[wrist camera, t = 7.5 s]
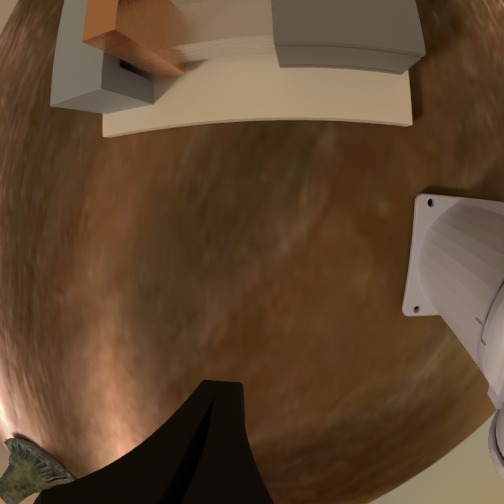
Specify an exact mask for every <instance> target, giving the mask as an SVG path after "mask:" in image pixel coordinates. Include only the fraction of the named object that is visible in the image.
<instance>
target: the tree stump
mask: <svg viewBox="0 0 504 504" xmlns="http://www.w3.org/2000/svg"><path fill="white" fill-rule="evenodd" d="M5 440H6V441H5V442H4V443H5V444H6V445H7V448H8V450H9V452H10V453H11V454H10V457H9V466H8V468H7V470H6V471H5V473H4V474H3V476H2V477H1V478H0V497H1V499H2V500H3V501H4V502H5V503H6V504H19V503H20V502H21V501H22V500H24V499H25V498H26V497H28V496H29V495H31V494H33V493H35V492H36V493H37V492H39V493H41V491H42V490H44V489H49V488H52V487H56V486H59V485H62V484H66V483H69V482H72V481H75V480H76V478H75V477H74V476H73V475H72V474H71V473H70V472H69V471H68V470H67V469H66V468H65V467H64V466H63V465H61V464H60V463H59V462H58V461H57V460H56V459H54V458H53V457H52V456H51V455H49V454H48V453H47V452H45V451H44V450H43V449H41V448H40V447H39V446H37V445H36V444H35V443H33V442H31V441H30V440H28V439H14V438H10V439H8V440H7V439H5ZM61 469H62V470H61Z"/></svg>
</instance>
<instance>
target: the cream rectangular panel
mask: <svg viewBox="0 0 504 504" xmlns="http://www.w3.org/2000/svg"><path fill="white" fill-rule="evenodd" d="M170 1H171V2H172V3H173V4H174V5H175V6H176V7H178V6H182V5H187V4H192V3H197V2H203V1H209V0H170ZM271 5H272V22H273V42H274V45H275V50H276V53H266V54H250V55H238V56H228V57H219V58H211V59H203V60H197V61H190V62H186V74H185V75H179V76H174V77H168V78H163V79H160V78H158V77H156V76H154V75H152V74H150V73H148V72H146V71H140V72H136V73H135V74H137V75H139V76H141V77H143V78H146V79H148V80H150V81H152V82H154V104H153V105H148V106H143V107H138V108H133V109H128V110H124V111H119V112H115V113H111V114H103V137H116V136H121V135H127V134H133V133H139V132H145V131H151V130H158V129H166V128H173V127H182V126H191V125H201V124H212V123H224V122H240V121H262V120H328V121H350V122H365V123H377V124H388V125H398V126H406V127H407V126H410V125H412V108H411V94H410V83H409V74H408V69H409V68H410V67H411V66H413V65H414V64H415V63H416V62H417V61H419V60H420V59H421V58H422V57H424V56H425V55H426V50H425V45H424V39H423V34H422V29H421V24H420V19H419V15H418V10H417V6H416V2H415V0H271Z"/></svg>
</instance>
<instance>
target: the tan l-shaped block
mask: <svg viewBox="0 0 504 504" xmlns="http://www.w3.org/2000/svg"><path fill="white" fill-rule="evenodd" d="M82 42H83V43H85V44H88V45H90V46H92V47H95V48H97V49H99V50H102V51H104V52H106V53H108V54H111V55H113V56H115V57H117V58H119V59H120V65H119V67H121V68H123V69H125V70H128V71H130V72H132V73H136V72H140V71H146V72H148V73H150V74H152V75H154V76H156V77H158V78H160V79H163V78H168V77H174V76H179V75H185V74H186V62H190V61H197V60H203V59H211V58H219V57H228V56H238V55H250V54H266V53H276V50H275V45H274V42H273V22H272V5H271V0H209V1H203V2H197V3H192V4H187V5H182V6H178V7H176V6H175V5H174V4H173V3H172V2H171V1H170V0H89V1H88V6H87V11H86V16H85V22H84V29H83V35H82Z"/></svg>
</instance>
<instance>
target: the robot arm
mask: <svg viewBox="0 0 504 504" xmlns="http://www.w3.org/2000/svg"><path fill="white" fill-rule="evenodd" d="M429 199H432V205H431V206H428V203H427V202H428V200H429ZM416 306H418V309H417V310H413V309H414V308H415V307H416ZM402 311H403V313H404V314H405V315H406V316H426V315H441V317H442V318H443V319H444V320H445V322H446V323H447V324H448V326H449V327H450V328H451V330H452V331H453V332H454V334H455V335H456V336H457V338H458V339H459V340H460V342H461V343H462V345H463V346H464V347H465V349H466V350H467V351H468V353H469V354H470V356H471V357H472V359H473V360H474V361H475V363H476V364H477V366H478V367H479V369H480V370H481V372H482V373H483V375H484V376H485V378H486V379H487V381H488V382H489V390H488V396H489V397H490V399H491V401H492V402H493V404H494V406H495V407H496V409H497V410H498V411H497V413H496V414H495V416H494V418H493V420H492V424H491V427H490V431H489V438H488V442H489V452H490V456H491V459H492V461H493V464H494V466H495V468H496V469H497V471H498V472H499V473H500V475H501V476H502V477H503V478H504V202H499V201H491V200H483V199H474V198H465V197H456V196H446V195H435V194H423V193H422V194H419V195H417V197H416V198H415V207H414V221H413V233H412V243H411V252H410V260H409V268H408V275H407V281H406V288H405V294H404V300H403V305H402ZM33 504H274V503H273V501H272V499H271V497H270V495H269V493H268V491H267V489H266V487H265V485H264V483H263V481H262V478H261V476H260V474H259V471H258V469H257V466H256V464H255V461H254V458H253V455H252V452H251V449H250V445H249V442H248V438H247V434H246V430H245V410H244V392H243V385H242V384H241V383H240V382H225V381H212V380H203V381H202V382H201V383H200V384H199V385H198V387H197V388H196V389H195V390H194V392H193V393H192V394H191V395H190V396H189V398H188V399H187V400H186V401H185V402H184V403H183V404H182V405H181V407H180V408H179V409H178V410H177V411H176V412H175V413H174V414H173V415H172V416H171V417H170V418H169V419H168V420H167V421H166V422H165V423H164V424H163V425H162V426H161V427H160V428H158V429H157V430H156V431H155V432H154V433H153V434H152V435H151V436H150V437H148V438H147V439H146V440H145V441H143V442H142V443H141V444H140V445H138V446H137V447H135V448H134V449H133V450H131V451H130V452H128V453H127V454H125V455H124V456H122V457H121V458H119V459H117V460H116V461H114V462H113V463H111V464H109V465H107V466H105V467H104V468H102V469H100V470H97V471H95V472H93V473H91V474H89V475H87V476H84V477H82V478H80V479H77V480H75V481H72V482H69V483H66V484H62V485H59V486H56V487H52V488H49V489H44V490H42V491H41V493H40V494H39V495H38V497H37V498H36V500H35V502H34V503H33Z"/></svg>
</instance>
